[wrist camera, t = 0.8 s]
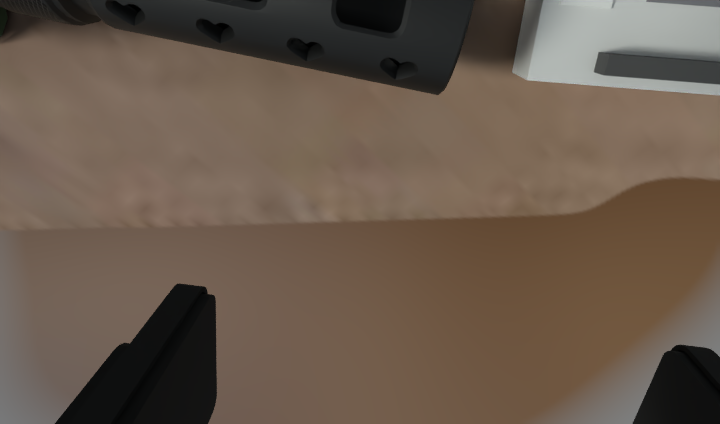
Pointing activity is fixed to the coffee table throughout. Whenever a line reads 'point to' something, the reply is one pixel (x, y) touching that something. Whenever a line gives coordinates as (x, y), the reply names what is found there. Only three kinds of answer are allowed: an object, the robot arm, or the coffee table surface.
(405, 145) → the coffee table surface
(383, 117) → the coffee table surface
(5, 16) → the character mug
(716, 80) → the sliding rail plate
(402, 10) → the muzzle brake
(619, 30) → the breaker panel
